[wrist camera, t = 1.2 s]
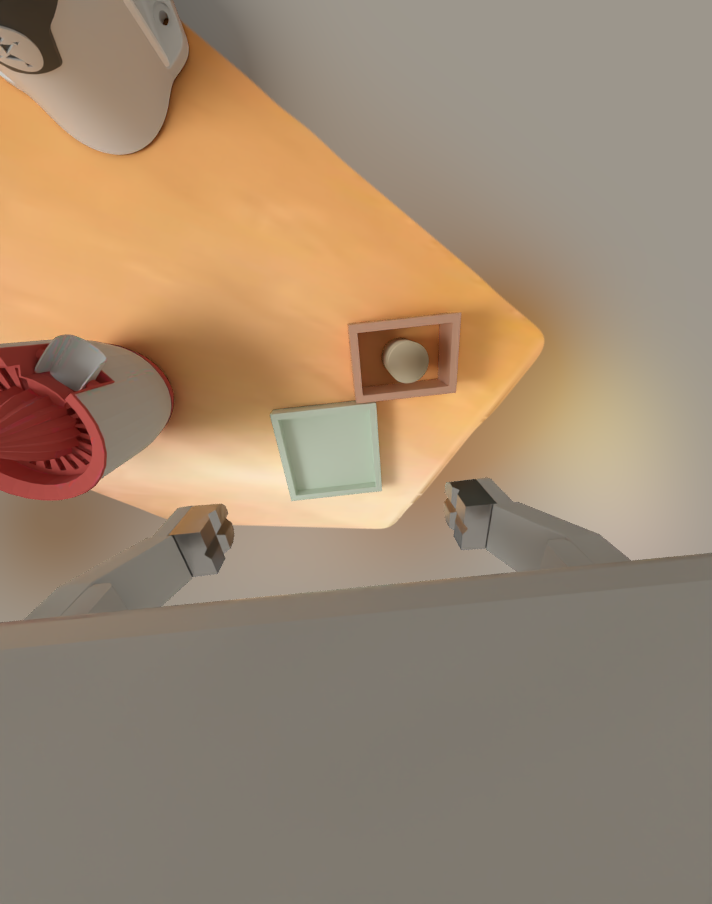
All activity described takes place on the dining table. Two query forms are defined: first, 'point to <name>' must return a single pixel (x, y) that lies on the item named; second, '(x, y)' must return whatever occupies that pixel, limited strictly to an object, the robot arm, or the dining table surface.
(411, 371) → the beech cylinder
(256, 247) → the dining table surface
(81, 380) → the citrus juicer
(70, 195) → the dining table surface
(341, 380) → the dining table surface
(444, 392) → the open square frame
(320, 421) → the tray
